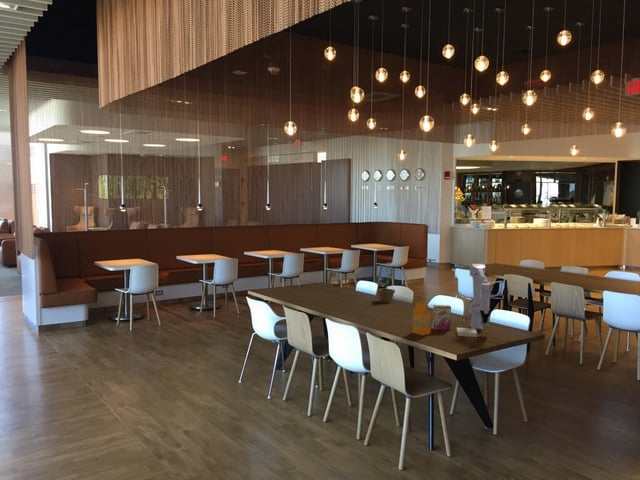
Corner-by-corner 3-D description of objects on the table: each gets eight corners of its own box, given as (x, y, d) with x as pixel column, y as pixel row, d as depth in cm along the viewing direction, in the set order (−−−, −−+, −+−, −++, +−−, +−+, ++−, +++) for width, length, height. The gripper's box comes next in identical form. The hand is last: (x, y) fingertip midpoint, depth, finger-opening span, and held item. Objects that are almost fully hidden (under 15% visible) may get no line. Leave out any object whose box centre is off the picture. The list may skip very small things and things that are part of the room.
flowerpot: (394, 303, 439) (395, 268, 437) (377, 303, 441) (378, 267, 439) (394, 300, 453) (395, 266, 451) (377, 299, 455) (378, 265, 453)
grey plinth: (456, 331, 350) (456, 327, 349) (475, 333, 347) (475, 328, 347) (457, 336, 338) (457, 331, 338) (476, 337, 335) (477, 333, 335)
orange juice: (422, 335, 337) (423, 305, 335) (412, 332, 344) (413, 302, 342) (430, 333, 341) (431, 303, 340) (420, 331, 348) (421, 301, 347)
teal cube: (480, 323, 343) (480, 315, 343) (488, 323, 342) (488, 316, 342) (480, 325, 338) (481, 317, 338) (489, 325, 337) (489, 318, 337)
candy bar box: (433, 330, 351) (434, 306, 350) (432, 328, 356) (432, 304, 354) (450, 330, 351) (451, 306, 350) (448, 328, 356) (449, 304, 355)
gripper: (477, 299, 347) (476, 319, 348) (480, 303, 333) (479, 324, 334) (488, 299, 346) (487, 320, 347) (491, 304, 331) (490, 325, 333)
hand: (484, 322), depth 340 cm, fingers closed on teal cube, 5 cm apart
